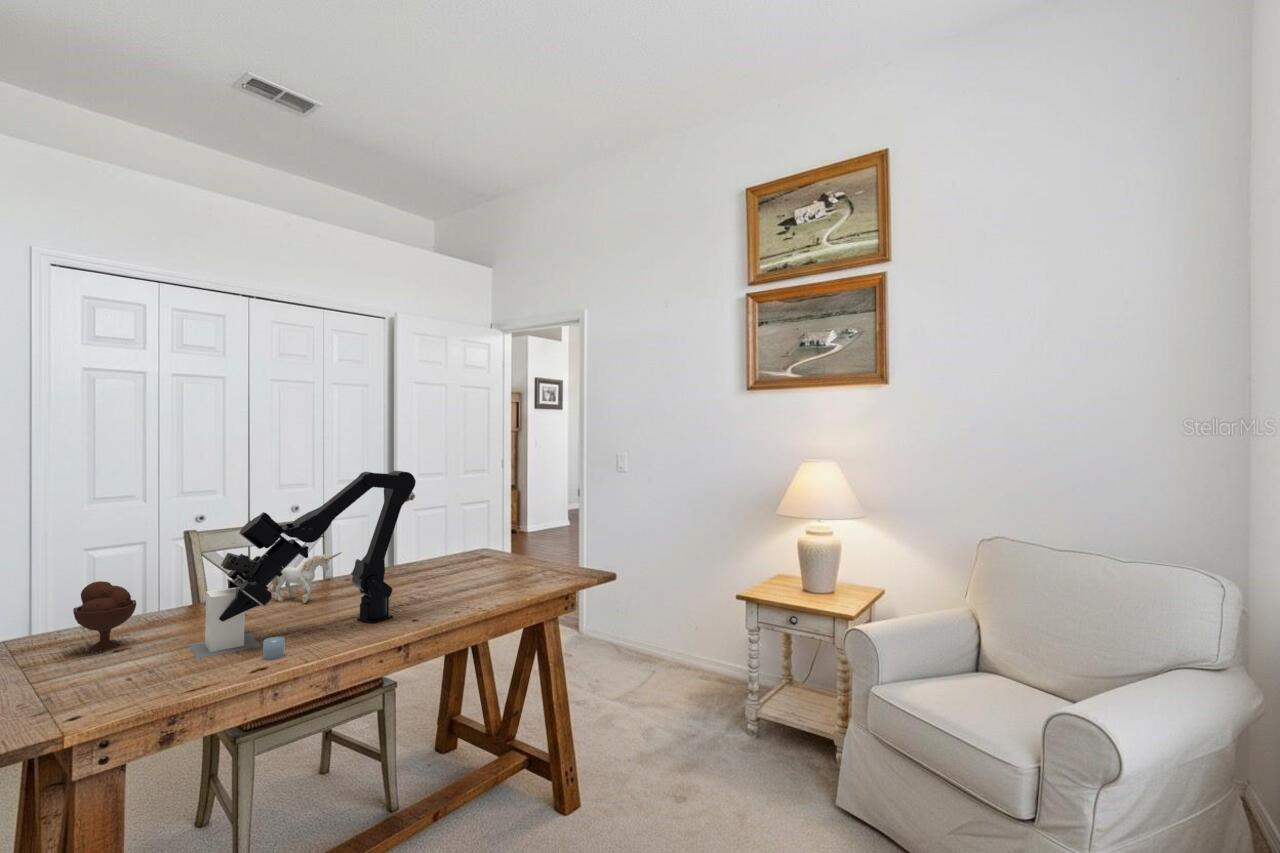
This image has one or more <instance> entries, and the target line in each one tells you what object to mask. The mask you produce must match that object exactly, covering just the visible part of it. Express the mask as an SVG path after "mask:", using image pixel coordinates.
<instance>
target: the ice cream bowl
mask: <svg viewBox="0 0 1280 853" xmlns="http://www.w3.org/2000/svg"><path fill="white" fill-rule="evenodd" d="M80 600H81V603H82V605H79V606H76V607H73V609H72V610H73V611H72V612H73V615H74V620H75V621H76V622H77V624H79V625H80V626H81V627H83V628H85V629H88V630H91V631H97V632H98V634H99V641H97V642H95V643H94V644H92V645H91V646H89V647H88V652H89V651H93V652H92V653H94V652H97V653H104V652H103V651H106V650H110V649H114V648H116V647H118V646H120V642H118V641H116V640H112V639H111V637H110V636H111V631H112V629H114V628H117V627H119V626H120V625H122V624H124V623H126V621H128V620H129V619H130V618H131V617H133V614H134V612H135V611H136V607H137V604H138V603H137V601H136V599H132V596H131V594H130V592H129V591H128V590H127V589H126V588H124V587H123V586H119V585H113V584H112V583H110V582H108V581H101V580H100V581H98V580H97V581H94V582H91V583H88V584H87V585H86V586H84V588H83V589H82V590H81V593H80ZM100 651H101V652H100Z"/></svg>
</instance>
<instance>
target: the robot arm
mask: <svg viewBox="0 0 1280 853" xmlns="http://www.w3.org/2000/svg"><path fill="white" fill-rule="evenodd" d="M416 483H417V482H416V478H415V476H414V474H412V473H410V471H404V470H403V471H402V470H393V471H391V472H389V473H384V472H383V473H381V472H380V473H379V472H370V471H363V472H361V473H360V474H359V475H358V476H357V477H356V478H354V480H352V481H351V482H350V483H349V484H347V485H346V486H344V488H343V489H341V490H340V491H339V492H337V493H335V495H334V496H332V497H331V498H330V499H329V500H327V501H326V502H324V503H323V505H321V506H319V507H317V508H316V509H313V510H310V511H308V512H307V513H304V514H302V515H301V516H300V517H298V518H296V519H294V521H293V522H290V523H289V522H288V523H283V524H279V523H277V522H276V521H275V520H274V519H273V517H271V516H270V515H269V514H268V513H267V512H264V511H263V512H262V513H260V515H258V516H256V517H254V518H252V519H251V520H249V521H248V522H246V523H245V525H244V526H242V528H241V529H240V531H239V535H241V536H242V537H243V538H244V539H246V540H247V541H248V542H250V544H252V546H253V545H254V546H255V547H256V548H257V549H259V550H261V549H263V548H264V549H268V550H266V551H265V552H264V553H263V554H262V555H261V556H260V555H258V556H257V555H256V556H255V557H254V558H253V559H251V558H250V556H249V555H245V554H243V553H240V554H239V555H238V554H234V553H232V552H227V553H226V555H225V557H224V559H223V561H222V563H221V565H220V567H222V568H223V569H224V570H227V571H229V573H227V577H228V578H227V580H226V581H227V589H229V588H236V597H235V598H234V599H233V601H232V602H231V603H230V605H229V606H228V607H227V608H226V610H225V611H224V612H223V613H222V615H221V616H220V617H219V620H221V621H225V620H227V619H230V618H232V617H234V616H236V615H238V614H240V613H242V612H245V613H246V611H249V610H251V609H255V607H259V606H261V605H263V606H264V607H265V606H266V605H268V603H269V602H270V601H271V600H273V598H272V594H273V593H271V592H270V591H269V587H268V586H269V585H270V584H271V583H272V581H273V580H274V579H275V578H276V577H277V576H279V577H280V576H281V575H282V574H283V573H281V572H282V571H283V570H284V569H285V568H286V567H289V566H288V565H290V564H291V563H292V562H293V561H294V560H295V559H296V558H297V557H298V556H301V557H302V558H304V559H308V558H309V546H308V545H301V544H300V543H299V542H297V541H296V540H298V541H301V542H302V543H306V544H307V543H309V544H310V543H315V542H317V541H318V540H320V538H321V537H322V536H323V534H324V533H325V532H326V531H327V530H328V529H329V527H330V526H331V525H332V522H333V521H334V520H335V519H336V518H337V517H338V516H339V515H340V514H342V513H343V512H344V511H346V510H347V509H348V508H349V507H350V506H351V505H353V504H354V503H355V502H356V501H358V500H359V499H360V498H361V497H362V496H363V495H365V494H366V493H367V492H368V491H370V490H371V489H372V488H379V489H381V488H382V489H383V500H384V501H383V504H382V508H381V511H380V514H379V517H378V519H377V523H376V525H375V529H374V531H373V533H372V534H373V535H372V538H371V540H370V544H369V546H368V549H367V552H366V554H365V556H364V557H363V558H362V559H361V560H360V559H359V558H358V559H356V560H355V562H354V566H353V567H354V568H353V569H352V571H351V573H350V575H351V576H352V577H351V581H352V583H353V585H354V586H355V587H356V588H358V590H359V592H360V594H363V596H361V597H360V598H361V599H360V604H359V616H357V617H356V620H358V621H362V622H366V623H369V624H375V623H379V622H381V621H385V620H387V619H390V617H391V618H394V615H393V614H390V613H389V612H390V610H389V609H390V608H389V607H390V597H391V594H392V592H393V590H394V589H393V587H391V586H390V585H388V584H387V582H386V581H384V580H385V575H386V564H385V563H386V561H385V560H386V559H385V558H386V555H387V552H388V548H389V547H390V546H389V545H390V543H391V540H392V537H393V535H394V534H393V533H394V531H395V528H396V525H397V523H398V522H397V521H398V519H399V515H400V512H401V509H402V506H403V505H404V504H405V503H406V502H407V501H408V499H409V498H410V496H411V495H412V493H413V490H414V488H415V487H416ZM282 534H283V535H286V536H287V537H289V538H292V539H289V540H288V539H286V538H285V537H284V536H283V535H282ZM293 538H294V539H293ZM295 539H296V540H295ZM229 578H230V579H229ZM238 587H240V588H241V589H242V590H243V591H242V590H240V589H239V588H238Z"/></svg>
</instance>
